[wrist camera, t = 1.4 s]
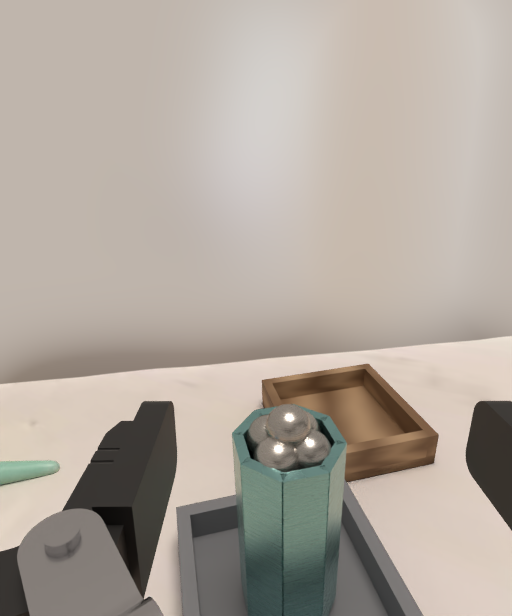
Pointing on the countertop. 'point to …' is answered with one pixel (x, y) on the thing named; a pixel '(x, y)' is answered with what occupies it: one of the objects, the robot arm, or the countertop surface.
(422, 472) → the countertop surface
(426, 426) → the walnut tray
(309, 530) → the teal octagonal tall prism
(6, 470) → the mint green cone
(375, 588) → the charcoal bin
